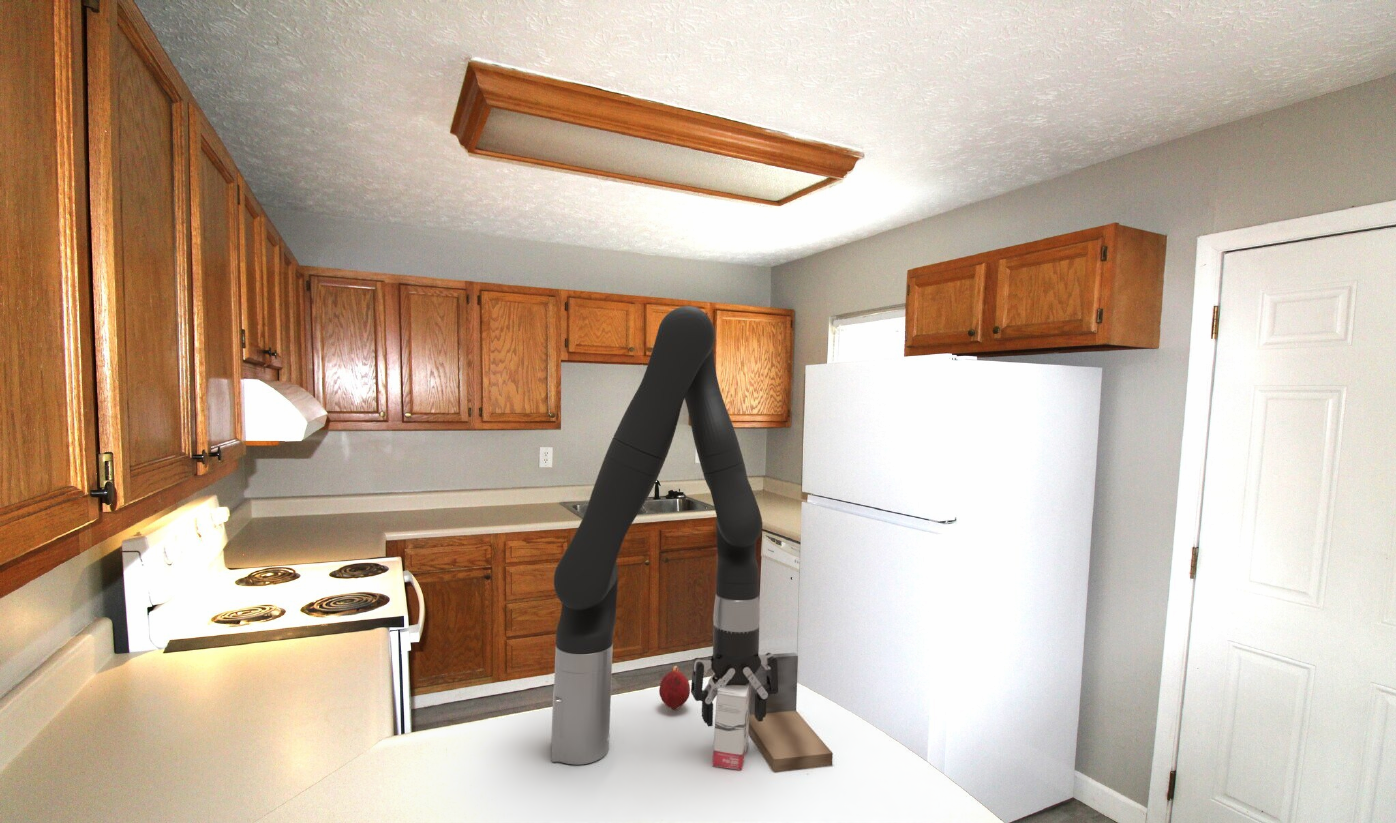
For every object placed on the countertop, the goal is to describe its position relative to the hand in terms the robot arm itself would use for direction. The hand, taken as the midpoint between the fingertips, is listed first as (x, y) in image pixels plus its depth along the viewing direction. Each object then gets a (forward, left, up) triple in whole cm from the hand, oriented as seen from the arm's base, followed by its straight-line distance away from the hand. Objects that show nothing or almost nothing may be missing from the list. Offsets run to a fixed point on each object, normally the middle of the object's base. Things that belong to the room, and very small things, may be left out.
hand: (734, 721), depth 100 cm
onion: (-6, +17, -6) cm, 19 cm away
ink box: (0, 0, -6) cm, 6 cm away
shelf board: (+10, +2, -5) cm, 11 cm away
